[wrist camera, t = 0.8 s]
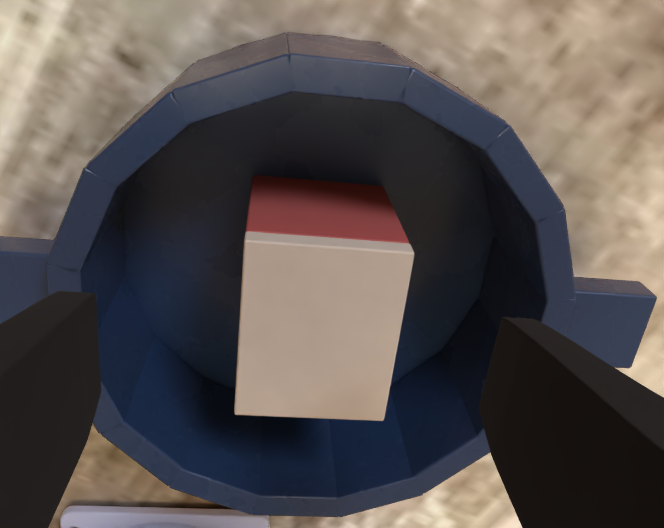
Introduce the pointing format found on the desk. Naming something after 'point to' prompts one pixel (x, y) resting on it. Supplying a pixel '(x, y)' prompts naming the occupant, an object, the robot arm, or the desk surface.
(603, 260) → the desk surface
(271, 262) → the red two-tone block
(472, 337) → the pot
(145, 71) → the desk surface
